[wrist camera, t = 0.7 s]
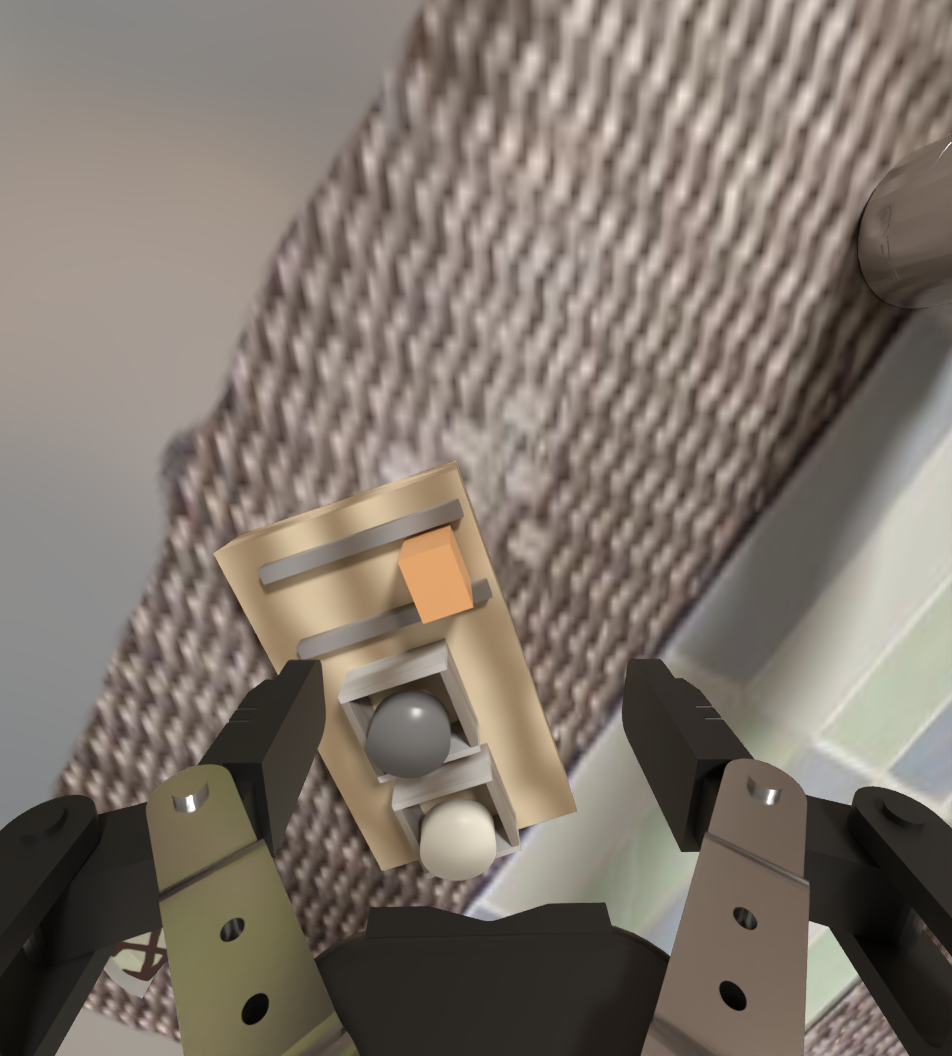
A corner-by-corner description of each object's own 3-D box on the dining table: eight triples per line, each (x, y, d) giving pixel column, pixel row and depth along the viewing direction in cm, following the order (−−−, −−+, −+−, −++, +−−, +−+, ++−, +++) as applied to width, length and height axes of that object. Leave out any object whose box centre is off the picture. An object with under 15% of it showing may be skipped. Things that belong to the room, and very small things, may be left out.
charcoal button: (434, 680, 29) (433, 698, 28) (461, 743, 31) (461, 763, 29) (359, 704, 30) (353, 723, 28) (389, 765, 31) (385, 788, 29)
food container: (225, 729, 38) (148, 844, 28) (291, 767, 39) (239, 890, 29) (145, 827, 40) (48, 965, 30) (210, 860, 41) (137, 1003, 32)
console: (456, 460, 33) (457, 478, 26) (565, 771, 40) (587, 847, 34) (240, 534, 33) (187, 570, 27) (388, 826, 41) (376, 911, 34)
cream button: (480, 789, 32) (482, 811, 30) (503, 842, 33) (506, 867, 32) (410, 811, 32) (408, 835, 30) (436, 863, 34) (435, 889, 32)
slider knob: (449, 523, 29) (449, 543, 26) (470, 580, 31) (473, 607, 27) (404, 539, 30) (397, 561, 26) (426, 594, 31) (423, 624, 27)
